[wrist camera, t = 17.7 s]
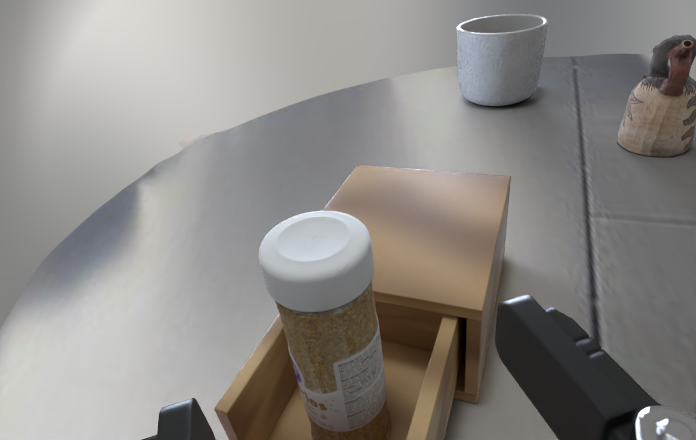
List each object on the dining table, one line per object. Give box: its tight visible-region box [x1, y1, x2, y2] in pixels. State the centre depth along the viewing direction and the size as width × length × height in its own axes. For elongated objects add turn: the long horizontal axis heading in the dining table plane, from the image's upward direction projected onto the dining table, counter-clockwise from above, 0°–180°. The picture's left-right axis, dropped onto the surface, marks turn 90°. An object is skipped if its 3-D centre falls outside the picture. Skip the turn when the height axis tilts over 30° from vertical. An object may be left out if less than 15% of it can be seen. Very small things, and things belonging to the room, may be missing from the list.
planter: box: [457, 14, 548, 106], centre depth 67 cm, size 12×12×11 cm
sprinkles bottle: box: [259, 211, 391, 440], centre depth 21 cm, size 5×5×14 cm
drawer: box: [215, 300, 464, 440], centre depth 23 cm, size 18×11×6 cm, turn 158°
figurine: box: [618, 35, 696, 157], centre depth 48 cm, size 7×7×12 cm
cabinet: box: [323, 165, 511, 404], centre depth 33 cm, size 15×13×8 cm
